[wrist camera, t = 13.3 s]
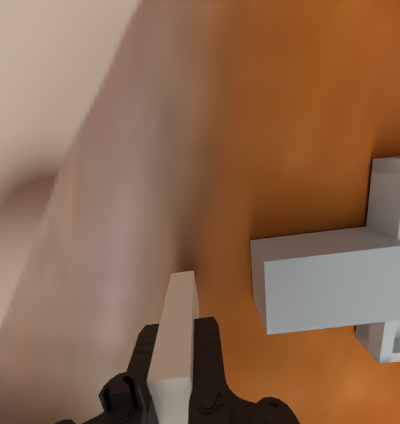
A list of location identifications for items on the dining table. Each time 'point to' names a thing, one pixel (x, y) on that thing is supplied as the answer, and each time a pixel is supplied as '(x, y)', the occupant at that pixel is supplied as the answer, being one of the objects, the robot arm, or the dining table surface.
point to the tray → (338, 273)
